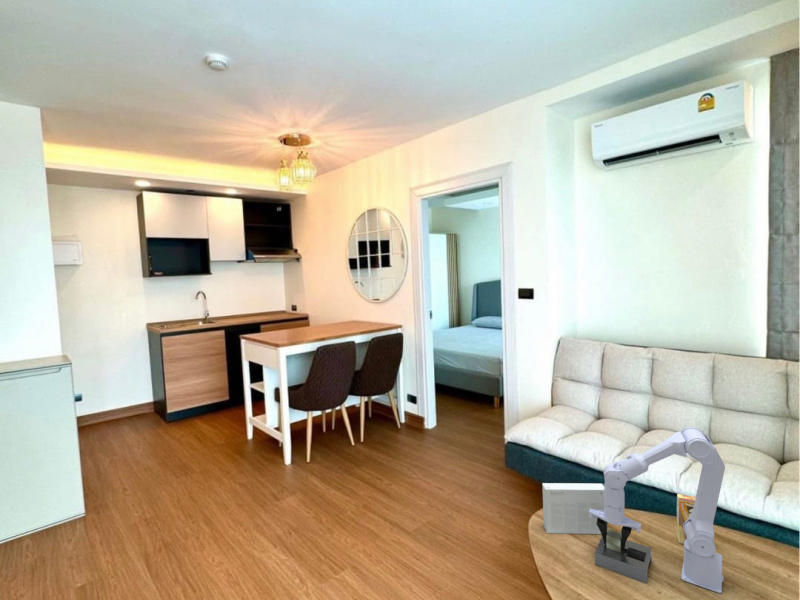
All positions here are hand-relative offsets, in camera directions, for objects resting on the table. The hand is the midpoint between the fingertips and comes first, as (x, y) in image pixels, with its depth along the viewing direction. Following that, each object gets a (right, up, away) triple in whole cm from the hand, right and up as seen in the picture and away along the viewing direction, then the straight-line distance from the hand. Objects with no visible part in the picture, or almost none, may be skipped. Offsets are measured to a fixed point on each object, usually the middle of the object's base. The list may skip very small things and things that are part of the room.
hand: (614, 545), depth 133 cm
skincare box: (-6, -4, +16) cm, 18 cm away
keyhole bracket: (+2, -5, -1) cm, 5 cm away
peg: (0, -4, +1) cm, 4 cm away
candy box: (+30, -3, +7) cm, 31 cm away
